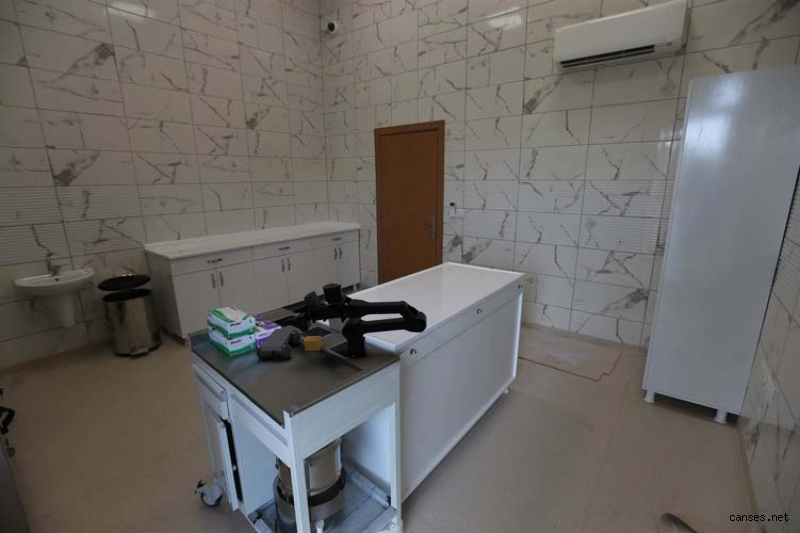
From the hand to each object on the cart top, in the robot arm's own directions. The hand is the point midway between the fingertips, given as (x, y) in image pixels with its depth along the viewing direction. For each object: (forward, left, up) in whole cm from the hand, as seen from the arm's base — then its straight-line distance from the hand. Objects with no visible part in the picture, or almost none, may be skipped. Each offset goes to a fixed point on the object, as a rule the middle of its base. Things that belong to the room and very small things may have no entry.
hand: (289, 316), depth 140 cm
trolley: (+7, -3, -16) cm, 18 cm away
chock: (-6, -5, -17) cm, 18 cm away
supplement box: (-13, -24, -17) cm, 32 cm away
